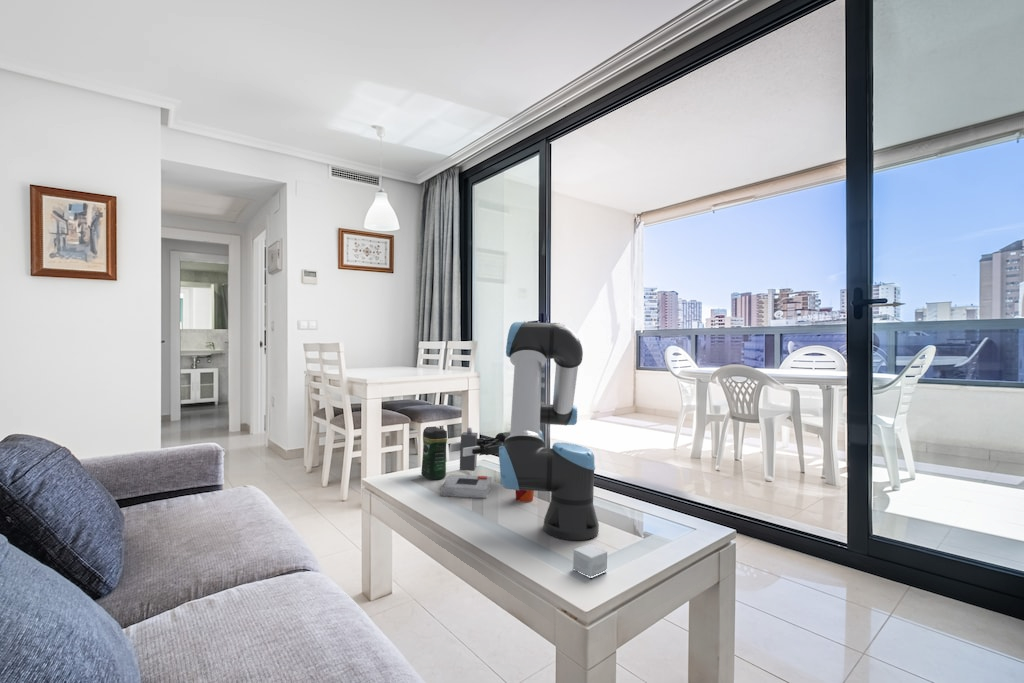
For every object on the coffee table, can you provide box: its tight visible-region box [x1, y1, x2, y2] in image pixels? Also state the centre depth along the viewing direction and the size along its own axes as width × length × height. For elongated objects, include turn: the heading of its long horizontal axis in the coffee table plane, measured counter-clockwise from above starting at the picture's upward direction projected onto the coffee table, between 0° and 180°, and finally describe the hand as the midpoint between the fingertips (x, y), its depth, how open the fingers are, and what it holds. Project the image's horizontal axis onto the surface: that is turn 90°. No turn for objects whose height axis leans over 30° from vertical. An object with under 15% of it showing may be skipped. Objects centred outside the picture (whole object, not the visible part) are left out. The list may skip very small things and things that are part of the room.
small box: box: [572, 543, 608, 577], centre depth 110 cm, size 6×6×5 cm
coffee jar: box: [421, 426, 448, 481], centre depth 182 cm, size 10×8×19 cm
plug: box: [459, 427, 479, 472], centre depth 167 cm, size 5×5×14 cm
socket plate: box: [440, 474, 493, 499], centre depth 167 cm, size 15×15×3 cm
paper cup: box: [515, 490, 534, 503], centre depth 159 cm, size 8×8×14 cm
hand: (456, 449), depth 164 cm, fingers closed on plug, 7 cm apart
